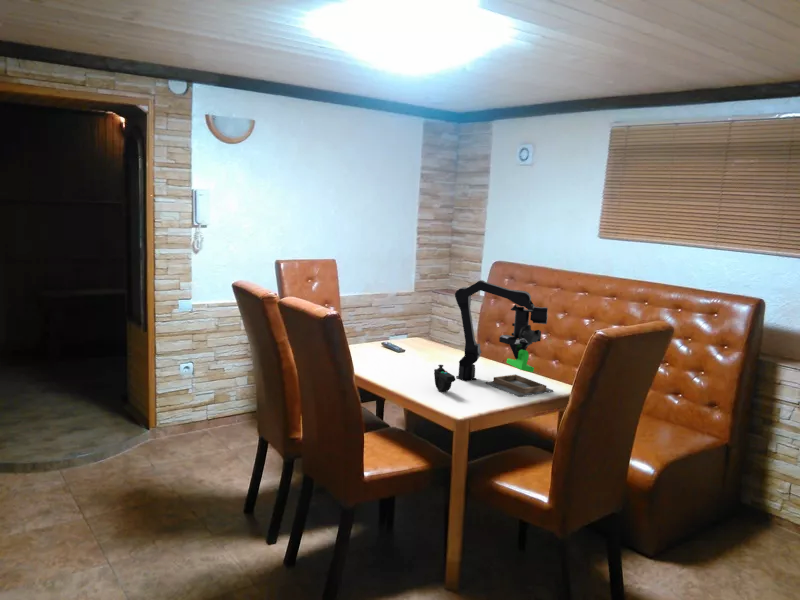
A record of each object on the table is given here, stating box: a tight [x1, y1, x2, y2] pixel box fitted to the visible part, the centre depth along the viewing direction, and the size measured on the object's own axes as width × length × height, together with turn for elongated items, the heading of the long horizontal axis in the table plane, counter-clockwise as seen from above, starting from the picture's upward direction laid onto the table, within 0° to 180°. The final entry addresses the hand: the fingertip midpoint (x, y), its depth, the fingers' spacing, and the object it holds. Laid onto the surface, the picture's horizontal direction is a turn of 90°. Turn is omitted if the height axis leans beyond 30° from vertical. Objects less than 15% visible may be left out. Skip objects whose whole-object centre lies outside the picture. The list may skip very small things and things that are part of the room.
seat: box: [485, 374, 554, 398], centre depth 257 cm, size 19×20×3 cm
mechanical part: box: [506, 349, 535, 373], centre depth 259 cm, size 12×6×8 cm, turn 20°
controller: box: [433, 364, 456, 393], centre depth 244 cm, size 4×12×10 cm, turn 24°
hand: (518, 358), depth 258 cm, fingers closed on mechanical part, 2 cm apart
